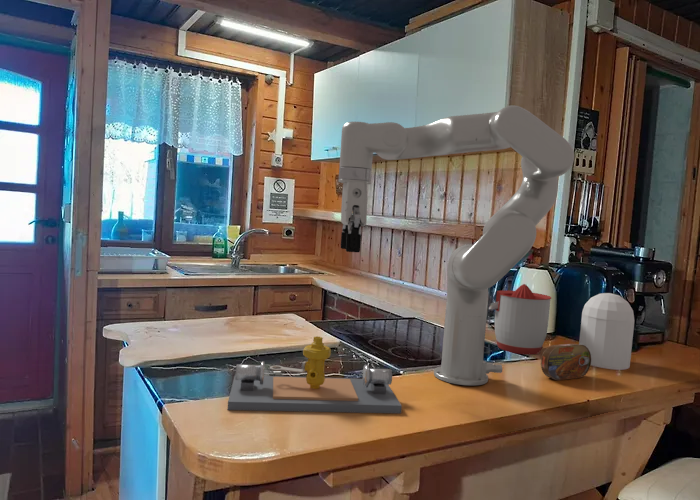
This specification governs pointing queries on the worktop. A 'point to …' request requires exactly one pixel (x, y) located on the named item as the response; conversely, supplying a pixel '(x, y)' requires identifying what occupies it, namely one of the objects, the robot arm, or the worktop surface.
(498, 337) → the citrus juicer
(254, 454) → the worktop surface
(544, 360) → the tin
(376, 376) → the pipe stubs
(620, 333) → the container
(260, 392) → the pipe rig base
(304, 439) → the worktop surface
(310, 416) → the worktop surface
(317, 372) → the pressure relief valve
